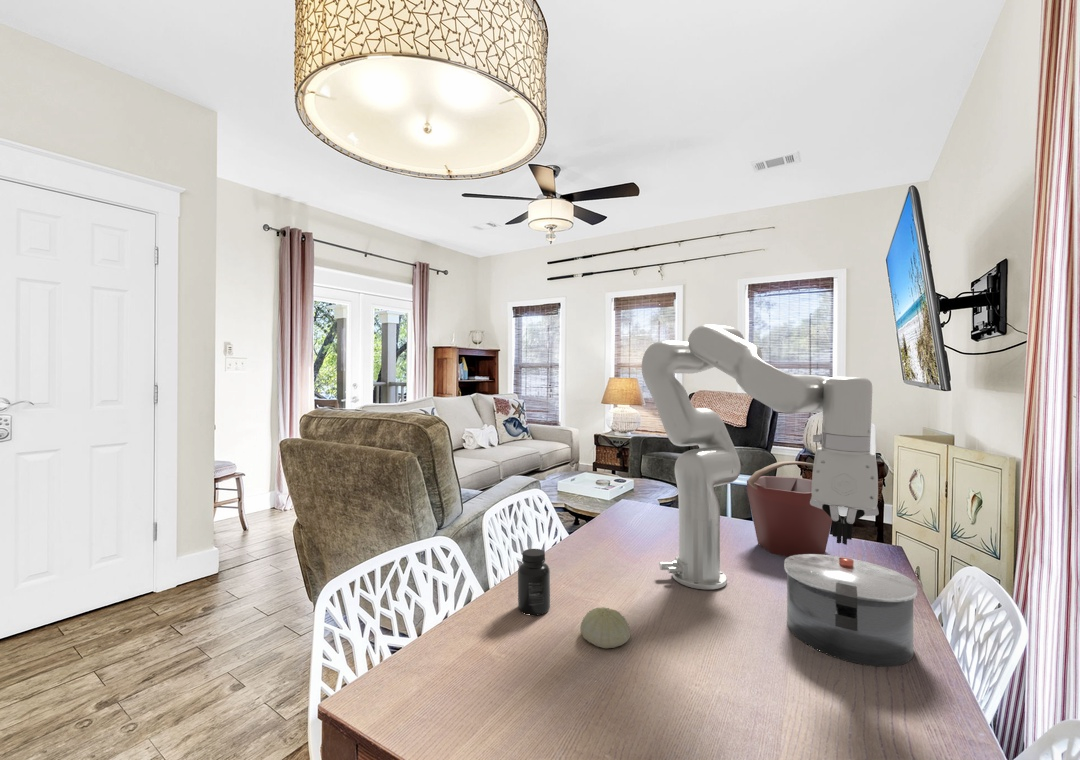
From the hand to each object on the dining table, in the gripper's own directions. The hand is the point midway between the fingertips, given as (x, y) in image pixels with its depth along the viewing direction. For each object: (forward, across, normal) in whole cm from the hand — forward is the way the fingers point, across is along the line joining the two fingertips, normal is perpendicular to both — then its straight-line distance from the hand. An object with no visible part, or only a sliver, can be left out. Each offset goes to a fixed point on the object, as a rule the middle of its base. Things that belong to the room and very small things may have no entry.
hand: (841, 541), depth 87 cm
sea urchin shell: (+20, -37, -23) cm, 48 cm away
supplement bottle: (+20, -54, -21) cm, 62 cm away
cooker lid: (+8, +1, +1) cm, 8 cm away
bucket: (+20, -12, +48) cm, 53 cm away
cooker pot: (+18, +1, +1) cm, 19 cm away
